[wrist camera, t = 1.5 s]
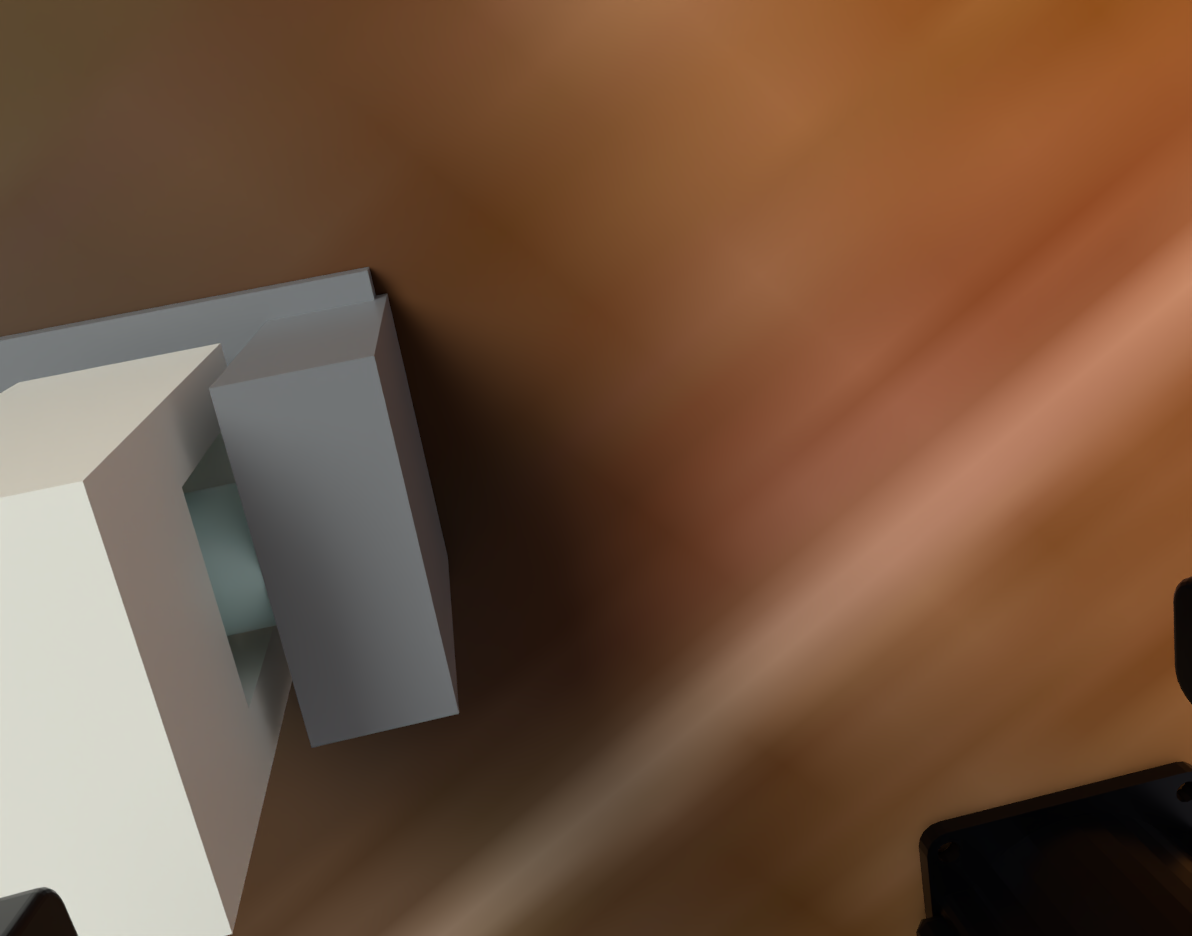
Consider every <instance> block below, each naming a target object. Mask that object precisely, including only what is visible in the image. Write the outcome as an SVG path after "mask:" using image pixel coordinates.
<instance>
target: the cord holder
mask: <svg viewBox="0 0 1192 936" xmlns="http://www.w3.org/2000/svg"><path fill="white" fill-rule="evenodd" d="M218 343H221V347H222V350H223V354H224V357H225V361H226V365H227V368H226V369H225V370H224V371H223V373H222V374H221V375H220V376H219V377H218V378H217V380H216V381H215V382H214V383H213V384H212V385H211V387H210V388H209V391H210V395H211V398H212V402H213V405H214V409H215V412H216V416H217V419H218V423H219V426H220V430H221V433H222V437H223V440H224V443H225V447H226V450H227V454H228V457H229V461H230V464H231V468H232V471H233V475H234V478H235V482H236V483H231V484H226V485H221V486H217V487H212V488H207V489H202V490H197V491H192V492H188V493H184V496H185V499H186V503H187V506H188V509H189V513H190V516H191V519H192V523H193V526H194V529H195V532H196V536H197V539H198V542H199V546H200V549H201V552H202V556H203V559H204V562H205V566H206V569H207V572H208V575H209V579H210V582H211V585H212V589H213V592H214V595H215V599H216V602H217V605H218V608H219V612H220V615H221V618H222V622H223V625H224V628H225V632H226V635H227V636H231V635H235V634H240V633H244V632H249V631H253V630H258V629H262V628H267V627H271V626H276V625H277V629H278V632H279V636H280V639H281V643H282V646H283V650H284V653H285V657H286V660H287V664H288V667H289V670H290V674H291V677H292V681H293V684H294V688H295V691H296V695H297V698H298V702H299V705H300V709H301V712H302V716H303V719H304V723H305V726H306V730H307V733H308V737H309V740H310V744H311V747H312V748H313V747H317V746H321V745H325V744H330V743H334V742H338V741H343V740H347V739H351V738H356V737H360V736H364V735H369V734H373V733H377V732H382V731H386V730H390V729H395V728H399V727H403V726H408V725H412V724H416V723H421V722H425V721H429V720H433V719H438V718H442V717H446V716H451V715H455V714H459V705H458V691H457V677H456V663H455V650H454V636H453V622H452V608H451V594H450V580H449V566H448V556H447V551H446V547H445V542H444V538H443V534H442V529H441V525H440V521H439V516H438V512H437V508H436V503H435V499H434V495H433V490H432V486H431V482H430V477H429V473H428V468H427V464H426V460H425V455H424V451H423V447H422V442H421V438H420V434H419V429H418V425H417V421H416V416H415V412H414V408H413V403H412V399H411V394H410V390H409V386H408V381H407V377H406V373H405V368H404V364H403V360H402V355H401V351H400V347H399V342H398V338H397V334H396V329H395V325H394V321H393V316H392V312H391V307H390V303H389V299H388V294H387V293H386V294H381V295H376V294H375V290H374V286H373V281H372V277H371V273H370V269H369V267H365V268H360V269H355V270H350V271H344V272H339V273H334V274H329V275H323V276H318V277H313V278H308V279H302V280H297V281H292V282H287V283H281V284H276V285H271V286H266V287H260V288H255V289H250V290H245V291H239V292H234V293H229V294H224V295H218V296H213V297H208V298H203V299H198V300H192V301H187V302H182V303H177V304H171V305H166V306H161V307H156V308H150V309H145V310H140V311H135V312H129V313H124V314H119V315H114V316H108V317H103V318H98V319H93V320H87V321H82V322H77V323H72V324H67V325H61V326H56V327H51V328H46V329H40V330H35V331H30V332H25V333H19V334H14V335H9V336H4V337H0V393H2V392H3V391H5V390H7V389H8V388H10V387H12V386H14V385H15V384H17V383H19V382H23V381H29V380H34V379H39V378H44V377H49V376H54V375H59V374H64V373H70V372H75V371H80V370H85V369H90V368H95V367H100V366H105V365H111V364H116V363H121V362H126V361H131V360H136V359H141V358H147V357H152V356H157V355H162V354H167V353H172V352H177V351H182V350H188V349H193V348H198V347H203V346H208V345H213V344H218Z"/></svg>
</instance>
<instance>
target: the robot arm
mask: <svg viewBox="0 0 1192 936" xmlns="http://www.w3.org/2000/svg"><path fill="white" fill-rule="evenodd" d="M1173 604H1174V649H1175V670H1176V675H1177V679H1178V682H1179V684H1180V687H1181V689H1182V691H1183V692H1184V694H1185V696H1186V697H1187V699H1188V700H1189V702H1190V703H1191V704H1192V577H1189V578H1186V579H1184V580H1182V581H1181V582H1180V583H1179V585H1178V586H1177V587H1176V590H1175V593H1174V601H1173ZM1183 783H1185V785H1184V786H1183V787H1182V788H1181V789H1180V790H1178V788H1179V787H1180V786H1181V785H1182V784H1183ZM1177 790H1178V791H1177ZM948 842H951V844H950V846H949V847H948V848H947V849H945V850H943V851H939V849H940V848H941V846H942V845H944V844H946V843H948ZM919 852H920V862H921V873H922V883H923V893H924V903H925V913H926V919H923V920H921V922H920V925H919V927H918V929H917V936H1192V766H1191V765H1190V764H1188V763H1185V762H1175V763H1171V764H1167V765H1163V766H1159V767H1155V768H1151V769H1147V770H1143V771H1139V772H1135V773H1131V774H1127V775H1123V776H1119V777H1115V778H1111V779H1107V780H1103V781H1099V782H1095V783H1091V784H1087V785H1083V786H1079V787H1075V788H1071V789H1067V790H1063V791H1059V792H1055V793H1051V794H1047V795H1044V796H1040V797H1036V798H1032V799H1028V800H1024V801H1020V802H1016V803H1012V804H1008V805H1004V806H1000V807H996V808H992V809H988V810H984V811H980V812H976V813H972V814H968V815H964V816H960V817H956V818H952V819H948V820H944V821H940V822H937V823H935V824H933V825H931V826H930V827H928V828H927V829H926V830H925V831H924V832H923V834H922V836H921V838H920V842H919ZM0 936H78V934H77V932H76V929H75V927H74V925H73V923H72V920H71V918H70V916H69V913H68V911H67V909H66V906H65V904H64V902H63V901H62V899H61V897H60V896H59V895H58V894H57V893H56V891H54V890H52V889H50V888H47V887H40V888H35V889H32V890H28V891H24V892H20V893H17V894H13V895H9V896H6V897H2V898H0Z"/></svg>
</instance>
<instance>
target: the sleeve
mask: <svg viewBox="0 0 1192 936" xmlns="http://www.w3.org/2000/svg"><path fill="white" fill-rule="evenodd" d="M226 368H227V365H226V361H225V357H224V354H223V350H222V347H221V343H218V344H213V345H208V346H203V347H198V348H193V349H188V350H182V351H177V352H172V353H167V354H162V355H157V356H152V357H147V358H141V359H136V360H131V361H126V362H121V363H116V364H111V365H105V366H100V367H95V368H90V369H85V370H80V371H75V372H70V373H64V374H59V375H54V376H49V377H44V378H39V379H34V380H29V381H23V382H19V383H17V384H15V385H14V386H12V387H10V388H8V389H7V390H5V391H3V392H2V393H0V898H2V897H6V896H9V895H13V894H17V893H20V892H24V891H28V890H32V889H35V888H40V887H47V888H50V889H52V890H54V891H56V893H57V894H58V895H59V896H60V897H61V899H62V901H63V902H64V904H65V906H66V909H67V911H68V913H69V916H70V918H71V920H72V923H73V925H74V927H75V929H76V932H77V934H78V936H225V935H229V934H232V933H233V929H234V924H235V920H236V916H237V912H238V907H239V903H240V899H241V895H242V891H243V886H244V882H245V878H246V874H247V869H248V865H249V861H250V857H251V852H252V848H253V844H254V840H255V835H256V831H257V827H258V823H259V818H260V814H261V810H262V806H263V802H264V797H265V793H266V789H267V785H268V780H269V776H270V772H271V768H272V763H273V759H274V755H275V751H276V746H277V742H278V738H279V734H280V729H281V725H282V721H283V717H284V713H285V708H286V704H287V700H288V696H289V691H290V687H291V683H292V677H291V674H290V670H289V667H288V664H287V660H286V657H285V653H284V650H283V646H282V643H281V639H280V636H279V632H278V629H277V625H276V626H271V627H267V628H262V629H258V630H253V631H249V632H244V633H240V634H235V635H231V636H227V635H226V632H225V628H224V625H223V622H222V618H221V615H220V612H219V608H218V605H217V602H216V599H215V595H214V592H213V589H212V585H211V582H210V579H209V575H208V572H207V569H206V566H205V562H204V559H203V556H202V552H201V549H200V546H199V542H198V539H197V536H196V532H195V529H194V526H193V523H192V519H191V516H190V513H189V509H188V506H187V503H186V499H185V496H184V493H188V492H192V491H197V490H202V489H207V488H212V487H217V486H221V485H226V484H231V483H236V482H235V478H234V475H233V471H232V468H231V464H230V461H229V457H228V454H227V450H226V447H225V443H224V440H223V437H222V433H221V430H220V426H219V423H218V419H217V416H216V412H215V409H214V405H213V402H212V398H211V395H210V391H209V388H210V387H211V385H212V384H213V383H214V382H215V381H216V380H217V378H218V377H219V376H220V375H221V374H222V373H223V371H224V370H225V369H226Z"/></svg>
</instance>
